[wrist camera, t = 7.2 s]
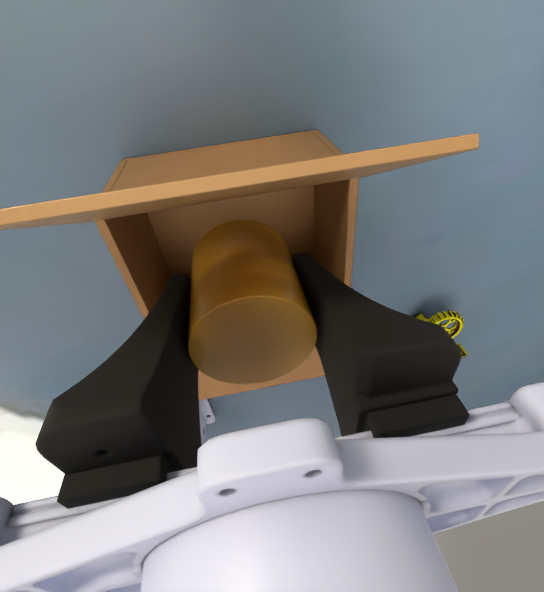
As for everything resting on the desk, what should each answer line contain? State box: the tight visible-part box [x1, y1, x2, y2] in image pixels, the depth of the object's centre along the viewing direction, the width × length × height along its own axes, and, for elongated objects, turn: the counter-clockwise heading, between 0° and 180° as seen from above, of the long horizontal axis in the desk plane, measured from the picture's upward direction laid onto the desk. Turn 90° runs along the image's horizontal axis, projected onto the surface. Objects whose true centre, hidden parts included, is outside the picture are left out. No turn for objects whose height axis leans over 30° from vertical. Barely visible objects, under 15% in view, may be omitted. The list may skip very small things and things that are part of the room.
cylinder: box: [188, 220, 317, 384], centre depth 13 cm, size 4×4×5 cm
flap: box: [0, 133, 479, 230], centre depth 9 cm, size 6×11×1 cm
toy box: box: [95, 130, 359, 400], centre depth 19 cm, size 13×11×7 cm
